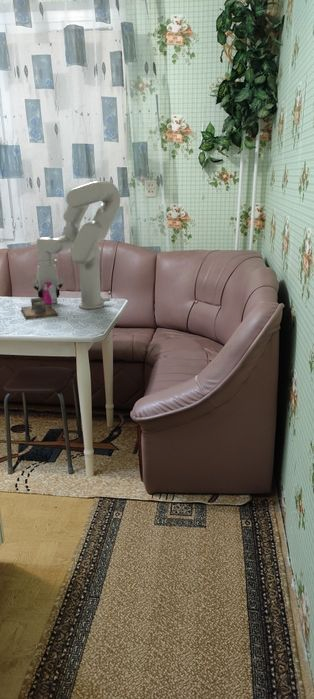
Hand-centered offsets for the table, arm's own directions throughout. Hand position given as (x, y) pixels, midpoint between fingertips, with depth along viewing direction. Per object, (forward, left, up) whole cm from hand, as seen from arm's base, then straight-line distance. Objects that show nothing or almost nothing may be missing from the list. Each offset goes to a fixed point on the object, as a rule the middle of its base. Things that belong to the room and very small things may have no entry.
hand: (49, 297), depth 257 cm
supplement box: (0, 0, -3) cm, 3 cm away
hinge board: (+8, +17, -3) cm, 19 cm away
